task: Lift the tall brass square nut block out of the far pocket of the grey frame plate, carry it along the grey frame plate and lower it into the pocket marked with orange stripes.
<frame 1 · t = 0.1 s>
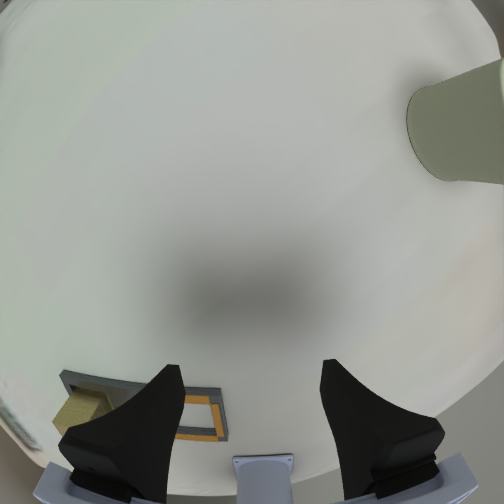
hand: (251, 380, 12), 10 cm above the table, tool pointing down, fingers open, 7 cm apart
can: (442, 133, 19), on the table
grey frame plate: (140, 407, 26), on the table
nut block: (99, 399, 26), resting in grey frame plate
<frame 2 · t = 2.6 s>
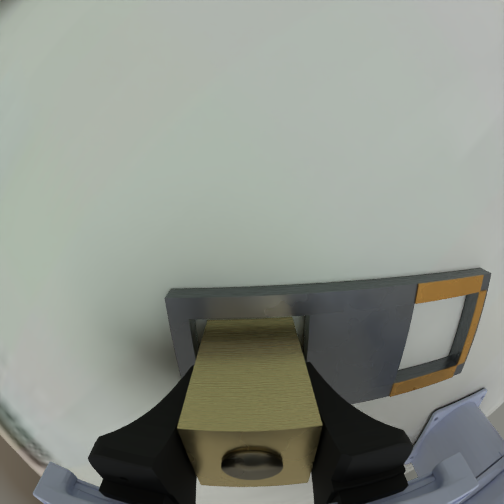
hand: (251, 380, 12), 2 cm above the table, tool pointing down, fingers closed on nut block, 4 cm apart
grey frame plate: (352, 344, 15), on the table
nut block: (251, 352, 15), resting in grey frame plate, touching gripper
when the fingers open (3 cm above the table, at t = 8.2 s): nut block drops 1 cm, resting in grey frame plate.
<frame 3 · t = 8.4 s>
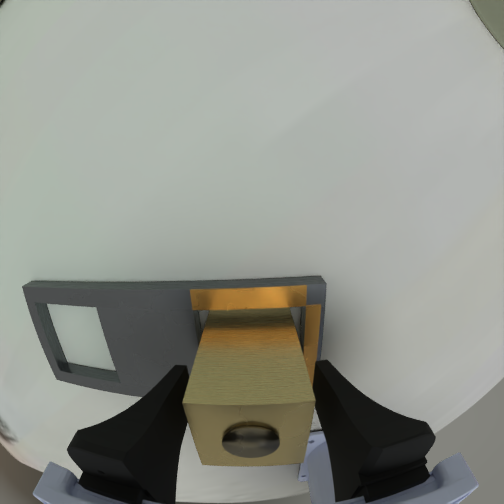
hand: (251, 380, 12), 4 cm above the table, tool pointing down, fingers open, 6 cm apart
can: (497, 22, 9), on the table
grey frame plate: (156, 342, 16), on the table
nut block: (250, 341, 16), resting in grey frame plate
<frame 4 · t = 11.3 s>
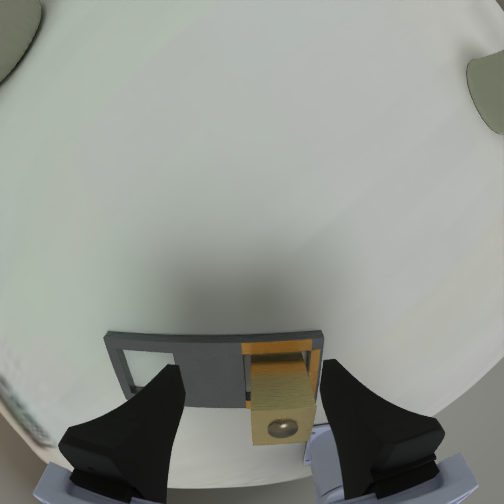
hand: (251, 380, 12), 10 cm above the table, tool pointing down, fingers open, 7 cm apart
can: (490, 96, 17), on the table
grey frame plate: (212, 371, 24), on the table
canister: (12, 46, 14), on the table
nut block: (275, 368, 24), resting in grey frame plate
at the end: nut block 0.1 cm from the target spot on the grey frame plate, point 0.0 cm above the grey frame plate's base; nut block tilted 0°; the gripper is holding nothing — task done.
